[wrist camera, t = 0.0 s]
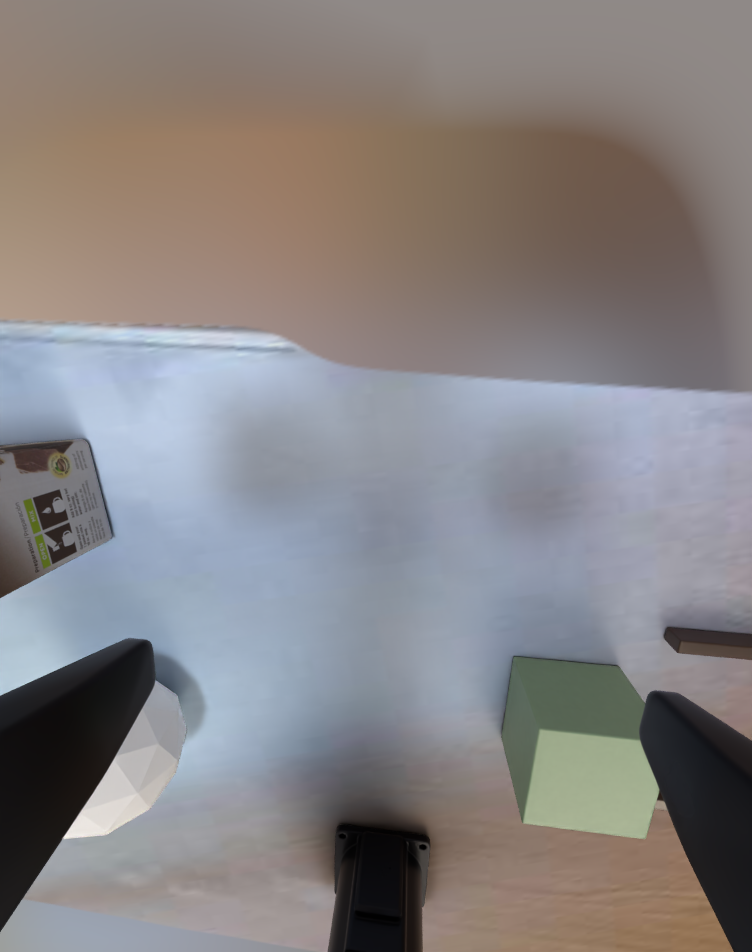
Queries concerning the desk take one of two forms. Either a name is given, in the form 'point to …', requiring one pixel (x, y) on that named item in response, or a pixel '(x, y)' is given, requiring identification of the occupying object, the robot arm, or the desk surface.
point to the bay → (707, 653)
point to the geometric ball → (136, 767)
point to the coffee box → (47, 509)
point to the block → (577, 748)
